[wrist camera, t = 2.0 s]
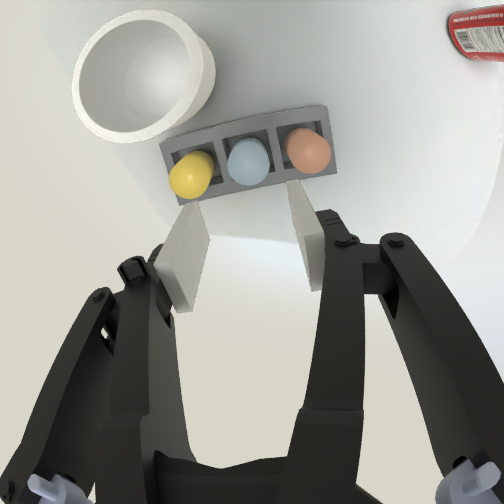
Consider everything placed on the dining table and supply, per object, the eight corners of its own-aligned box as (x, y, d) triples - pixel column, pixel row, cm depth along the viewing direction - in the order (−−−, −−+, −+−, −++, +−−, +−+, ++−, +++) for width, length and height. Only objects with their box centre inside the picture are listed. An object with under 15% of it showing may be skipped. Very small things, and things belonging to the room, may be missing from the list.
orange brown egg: (280, 130, 29) (286, 137, 25) (316, 124, 28) (327, 130, 24) (287, 164, 31) (293, 176, 27) (322, 158, 31) (333, 170, 26)
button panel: (166, 139, 32) (159, 143, 29) (320, 104, 30) (326, 106, 27) (184, 196, 36) (179, 205, 33) (330, 166, 34) (337, 173, 31)
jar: (193, 25, 24) (152, -16, 12) (242, 88, 29) (234, 82, 16) (124, 78, 27) (50, 80, 15) (169, 138, 32) (117, 172, 19)
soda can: (439, 37, 23) (516, 32, 10) (450, 2, 19) (520, -10, 6) (475, 70, 24) (550, 81, 11) (485, 35, 20) (555, 38, 7)
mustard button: (176, 155, 30) (163, 166, 26) (209, 146, 30) (202, 155, 26) (186, 187, 32) (176, 202, 28) (218, 178, 32) (213, 193, 28)
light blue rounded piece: (227, 142, 30) (222, 150, 25) (262, 134, 29) (264, 141, 25) (235, 175, 32) (232, 189, 27) (270, 167, 31) (273, 180, 27)
